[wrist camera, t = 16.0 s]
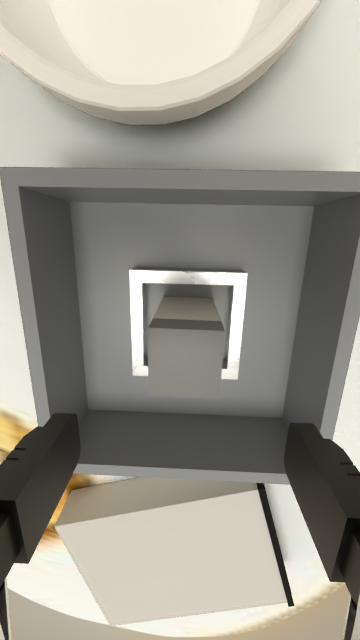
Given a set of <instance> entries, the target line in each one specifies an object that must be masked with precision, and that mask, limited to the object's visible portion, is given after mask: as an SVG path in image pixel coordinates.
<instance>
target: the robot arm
mask: <svg viewBox="0 0 360 640" xmlns="http://www.w3.org/2000/svg"><path fill="white" fill-rule="evenodd" d="M80 451H81V445H80V436H79V426H78V418H77V415H76V414H75V413H54V414H53V415H52V416H51V417H50V419H49V420H48V421H47V423H46V424H45V425H44V426H43V427H40V426H38V427H36V428H35V429H34V430H32V431H31V432H29V433H28V434H26V435H25V436H24V437H23V438H22V439H21V441H20V442H19V443H18V444H17V445H16V447H15V449H14V450H12V451H11V453H10V454H9V455H8V456H7V457H6V460H4V461H3V462H2V463H1V465H0V640H11V628H10V627H11V626H10V614H9V602H8V589H7V580H6V577H7V575H8V573H9V571H10V569H11V567H12V565H13V564H14V563H26V564H28V563H29V561H30V559H31V557H32V555H33V553H34V551H35V549H36V547H37V545H38V543H39V541H40V539H41V537H42V535H43V533H44V531H45V529H46V527H47V525H48V523H49V521H50V519H51V517H52V515H53V513H54V511H55V509H56V507H57V505H58V503H59V501H60V499H61V497H62V495H63V493H64V490H65V488H66V486H67V484H68V482H69V480H70V478H71V476H72V474H73V472H74V470H75V468H76V466H77V464H78V461H79V457H80ZM284 466H285V471H286V475H287V477H288V480H289V482H290V485H291V487H292V489H293V492H294V494H295V497H296V499H297V502H298V504H299V507H300V509H301V512H302V514H303V517H304V519H305V521H306V524H307V526H308V529H309V531H310V534H311V536H312V539H313V541H314V544H315V546H316V549H317V551H318V553H319V556H320V558H321V561H322V563H323V566H324V568H325V571H326V573H327V576H328V578H329V581H330V582H345V583H346V585H347V588H348V590H349V592H350V594H351V595H350V598H349V602H348V608H347V614H346V619H345V626H344V631H343V637H342V640H360V472H359V471H358V469H357V468H356V467H355V466H354V465H353V462H352V461H351V460H350V458H349V457H348V455H347V454H346V453H345V451H344V450H343V449H342V448H341V447H339V446H338V445H337V444H336V443H334V442H333V441H332V440H331V439H324V438H323V437H322V435H321V434H320V432H319V431H318V429H317V428H316V426H315V425H314V424H313V423H294V422H292V423H290V425H289V429H288V435H287V441H286V447H285V453H284Z"/></svg>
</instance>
